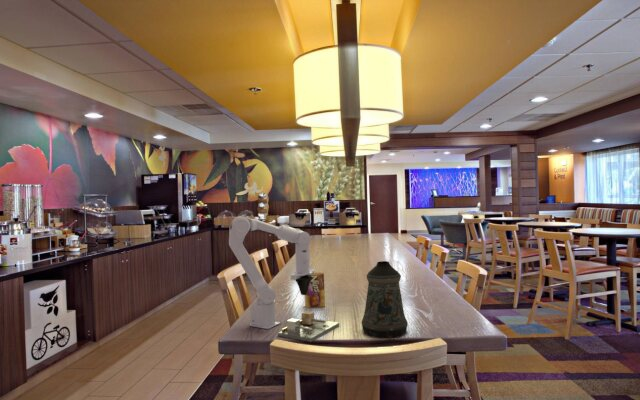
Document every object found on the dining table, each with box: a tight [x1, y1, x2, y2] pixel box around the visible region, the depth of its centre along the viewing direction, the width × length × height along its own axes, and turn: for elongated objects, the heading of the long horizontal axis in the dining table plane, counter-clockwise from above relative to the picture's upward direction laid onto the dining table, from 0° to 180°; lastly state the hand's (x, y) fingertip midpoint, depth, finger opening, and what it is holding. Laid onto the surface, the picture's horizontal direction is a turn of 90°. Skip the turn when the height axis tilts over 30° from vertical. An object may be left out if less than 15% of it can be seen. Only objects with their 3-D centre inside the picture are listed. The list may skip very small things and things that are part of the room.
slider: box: [301, 310, 327, 325], centre depth 161 cm, size 10×3×4 cm, turn 58°
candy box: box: [304, 271, 326, 309], centre depth 192 cm, size 9×4×15 cm, turn 96°
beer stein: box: [361, 260, 409, 340], centre depth 156 cm, size 16×19×25 cm
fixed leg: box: [286, 317, 312, 333], centre depth 153 cm, size 10×3×4 cm, turn 58°
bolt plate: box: [277, 318, 340, 343], centre depth 158 cm, size 14×20×2 cm
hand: (304, 294), depth 171 cm, fingers closed
